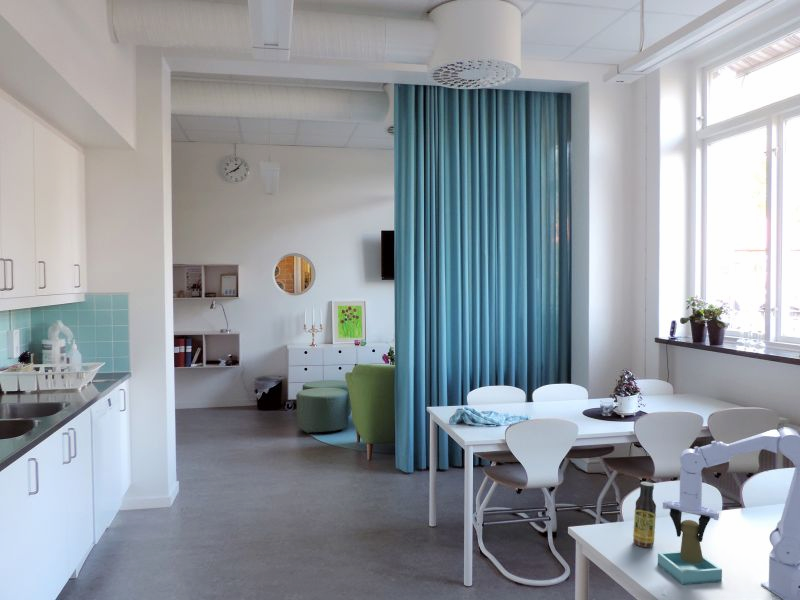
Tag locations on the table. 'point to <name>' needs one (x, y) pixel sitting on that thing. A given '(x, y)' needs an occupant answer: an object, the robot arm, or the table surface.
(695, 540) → the cork
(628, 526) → the table surface
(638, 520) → the sauce bottle
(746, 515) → the table surface
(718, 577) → the teal bin
